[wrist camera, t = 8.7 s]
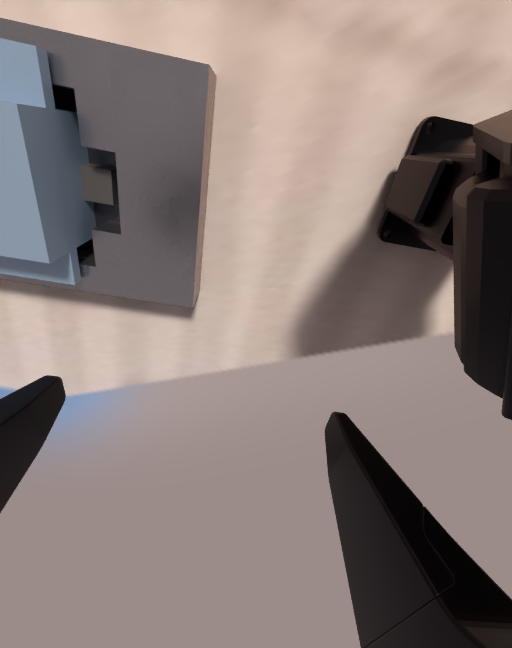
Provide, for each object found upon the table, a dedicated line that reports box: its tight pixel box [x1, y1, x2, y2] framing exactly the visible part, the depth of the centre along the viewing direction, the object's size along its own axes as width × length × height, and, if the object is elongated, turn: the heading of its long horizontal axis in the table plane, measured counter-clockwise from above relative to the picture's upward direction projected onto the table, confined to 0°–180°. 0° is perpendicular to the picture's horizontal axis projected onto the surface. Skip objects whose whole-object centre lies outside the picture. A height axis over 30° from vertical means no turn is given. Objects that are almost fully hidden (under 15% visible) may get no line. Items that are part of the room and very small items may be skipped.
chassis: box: [0, 18, 216, 308], centre depth 16 cm, size 16×12×2 cm
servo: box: [0, 38, 119, 285], centre depth 15 cm, size 6×10×5 cm, turn 170°
